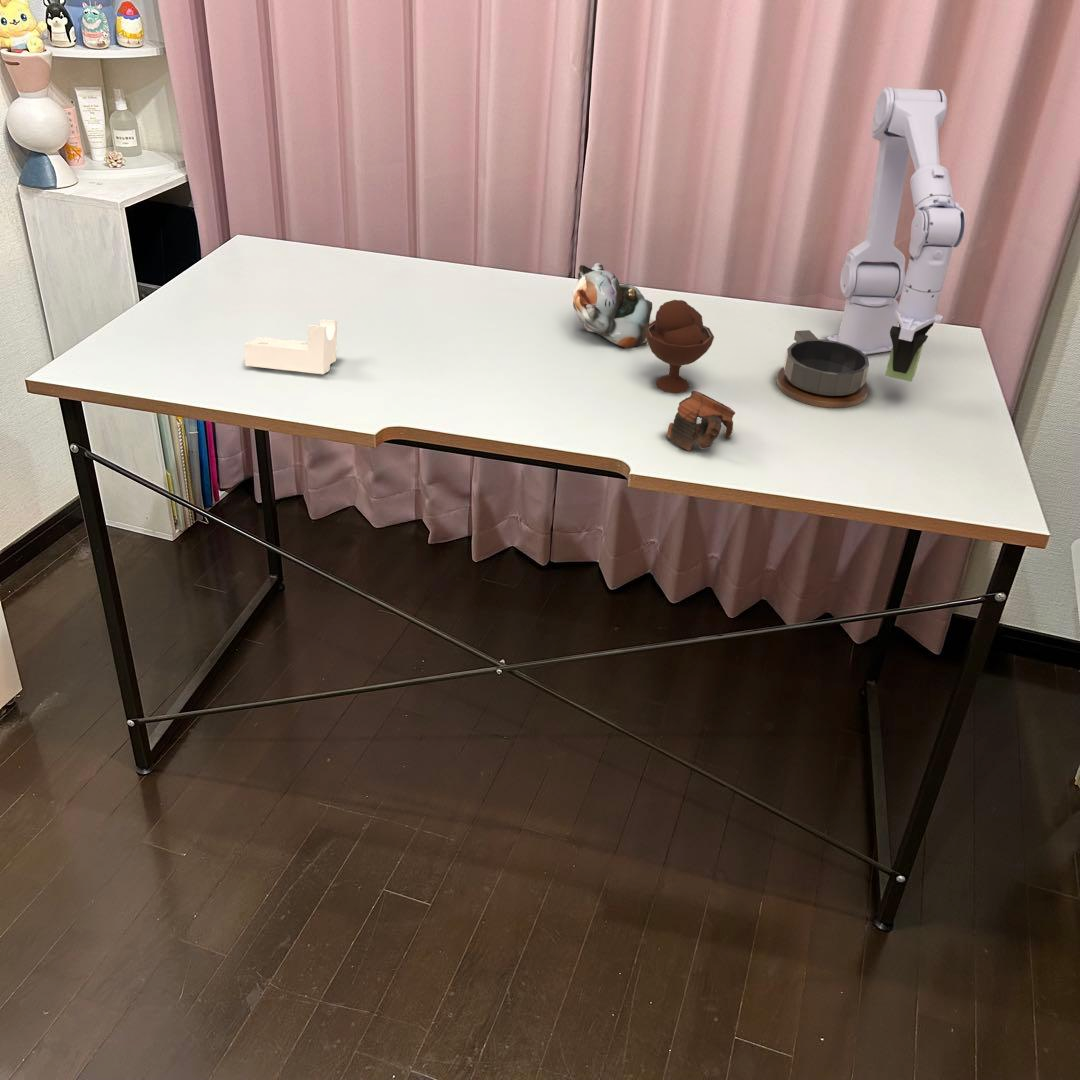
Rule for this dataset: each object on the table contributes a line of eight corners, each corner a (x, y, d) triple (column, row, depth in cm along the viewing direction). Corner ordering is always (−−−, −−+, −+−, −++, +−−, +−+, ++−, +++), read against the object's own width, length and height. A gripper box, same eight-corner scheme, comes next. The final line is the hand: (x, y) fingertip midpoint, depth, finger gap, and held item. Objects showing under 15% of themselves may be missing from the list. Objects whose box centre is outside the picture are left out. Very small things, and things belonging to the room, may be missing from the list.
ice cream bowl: (703, 404, 182) (716, 317, 174) (634, 394, 184) (644, 307, 175) (708, 376, 191) (721, 291, 183) (643, 367, 193) (652, 283, 184)
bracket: (336, 366, 189) (337, 320, 186) (323, 374, 182) (324, 327, 180) (260, 357, 190) (260, 312, 188) (244, 365, 183) (244, 318, 181)
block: (889, 365, 185) (896, 337, 182) (915, 371, 184) (923, 343, 181) (884, 375, 182) (891, 347, 179) (911, 381, 181) (918, 353, 178)
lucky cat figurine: (648, 353, 197) (619, 291, 188) (585, 366, 202) (554, 306, 193) (660, 299, 206) (633, 237, 197) (600, 313, 211) (570, 252, 202)
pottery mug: (654, 429, 176) (679, 381, 174) (704, 453, 179) (729, 406, 177) (679, 449, 164) (706, 398, 163) (733, 474, 168) (759, 424, 166)
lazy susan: (832, 362, 198) (833, 357, 198) (885, 400, 187) (887, 395, 186) (759, 373, 193) (760, 368, 192) (809, 413, 182) (810, 408, 181)
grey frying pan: (877, 396, 185) (883, 371, 183) (802, 401, 183) (807, 376, 180) (832, 351, 199) (837, 328, 196) (762, 355, 196) (766, 332, 193)
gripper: (942, 307, 168) (920, 389, 175) (956, 275, 179) (934, 354, 186) (894, 297, 170) (874, 379, 178) (911, 266, 181) (891, 344, 189)
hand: (902, 365), depth 182 cm, fingers closed on block, 4 cm apart
